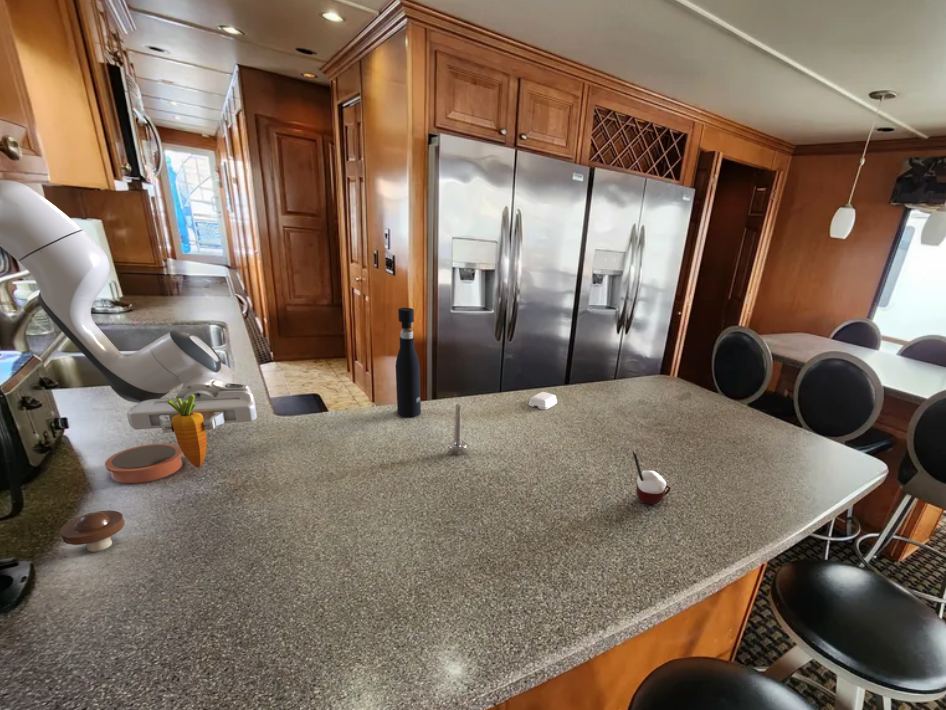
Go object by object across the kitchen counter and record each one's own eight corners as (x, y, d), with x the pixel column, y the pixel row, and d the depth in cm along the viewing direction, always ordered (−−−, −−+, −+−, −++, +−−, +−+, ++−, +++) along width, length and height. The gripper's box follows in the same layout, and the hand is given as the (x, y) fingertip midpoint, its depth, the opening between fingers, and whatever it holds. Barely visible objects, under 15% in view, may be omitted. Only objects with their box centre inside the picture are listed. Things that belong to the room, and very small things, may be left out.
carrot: (177, 474, 87) (159, 401, 81) (189, 461, 91) (172, 391, 85) (208, 473, 88) (192, 400, 82) (218, 460, 93) (204, 391, 87)
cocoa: (667, 496, 103) (678, 449, 99) (667, 512, 98) (678, 462, 93) (626, 488, 105) (634, 441, 100) (623, 502, 99) (632, 453, 95)
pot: (92, 476, 90) (88, 462, 88) (155, 451, 100) (152, 438, 99) (139, 489, 87) (135, 475, 86) (199, 462, 98) (196, 449, 97)
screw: (462, 458, 111) (444, 454, 112) (470, 450, 115) (452, 446, 116) (463, 408, 106) (444, 405, 107) (471, 402, 110) (453, 398, 111)
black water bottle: (397, 409, 134) (393, 306, 123) (420, 408, 136) (418, 307, 125) (397, 418, 129) (392, 310, 117) (421, 417, 130) (418, 311, 119)
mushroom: (56, 554, 71) (43, 522, 68) (108, 528, 77) (98, 498, 75) (91, 565, 69) (79, 533, 67) (140, 538, 75) (131, 507, 73)
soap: (540, 397, 155) (541, 389, 154) (558, 402, 152) (559, 394, 151) (526, 405, 147) (527, 396, 146) (545, 410, 144) (546, 401, 143)
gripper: (136, 389, 91) (110, 416, 80) (257, 384, 100) (249, 408, 89) (144, 418, 94) (119, 448, 82) (261, 411, 102) (254, 437, 91)
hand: (188, 427), depth 85 cm, fingers closed on carrot, 5 cm apart
